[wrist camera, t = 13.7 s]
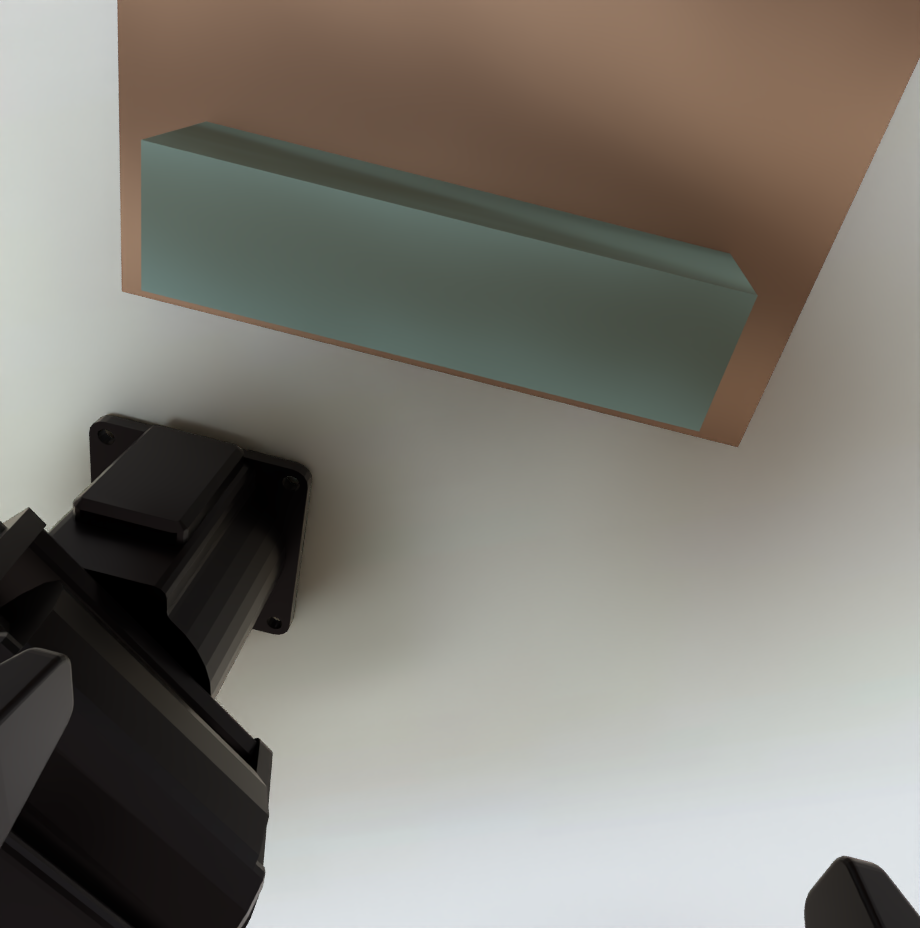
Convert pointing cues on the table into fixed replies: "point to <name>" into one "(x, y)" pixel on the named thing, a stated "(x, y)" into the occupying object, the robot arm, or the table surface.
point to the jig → (510, 181)
